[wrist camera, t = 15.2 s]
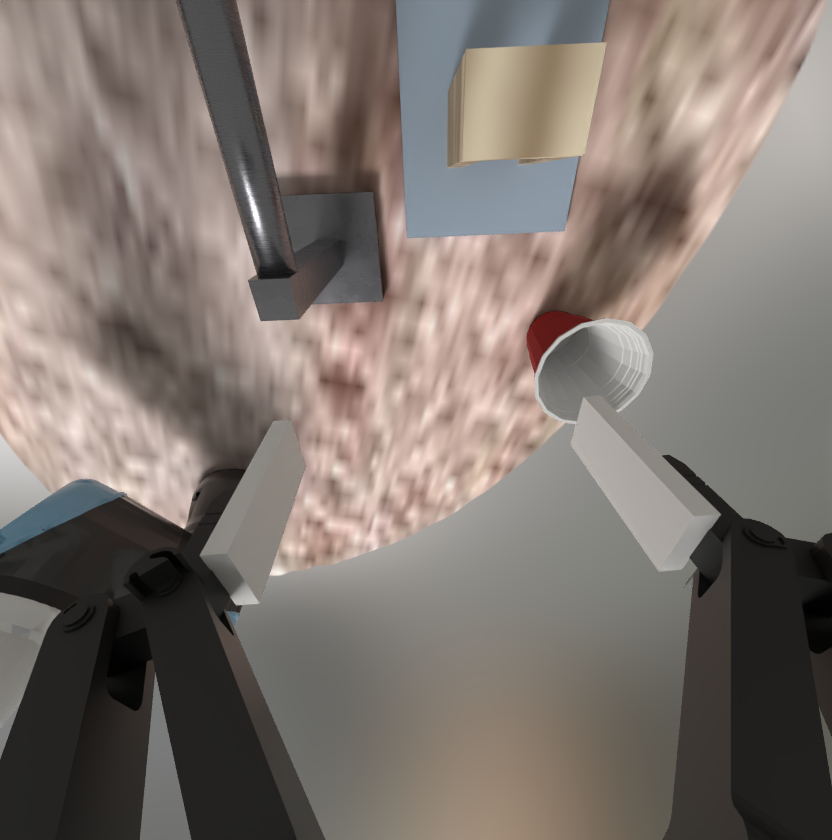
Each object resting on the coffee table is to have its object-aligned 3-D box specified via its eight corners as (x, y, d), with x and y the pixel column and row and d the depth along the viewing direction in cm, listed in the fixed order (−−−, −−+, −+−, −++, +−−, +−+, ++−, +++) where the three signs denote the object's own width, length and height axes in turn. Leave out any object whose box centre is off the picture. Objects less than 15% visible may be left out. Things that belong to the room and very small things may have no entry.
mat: (406, 236, 34) (406, 238, 33) (395, -3, 25) (395, -10, 24) (560, 230, 34) (564, 231, 33) (606, -13, 25) (613, -21, 24)
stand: (296, 301, 38) (223, 377, 23) (225, 5, 25) (-54, -272, 10) (383, 297, 38) (367, 371, 23) (356, -1, 25) (277, -289, 10)
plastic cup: (588, 269, 36) (655, 299, 27) (599, 351, 42) (657, 401, 32) (494, 310, 39) (523, 352, 29) (516, 383, 45) (547, 438, 35)
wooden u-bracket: (446, 167, 30) (462, 160, 22) (447, 92, 27) (466, 48, 19) (533, 163, 30) (584, 154, 22) (544, 87, 27) (606, 42, 19)
